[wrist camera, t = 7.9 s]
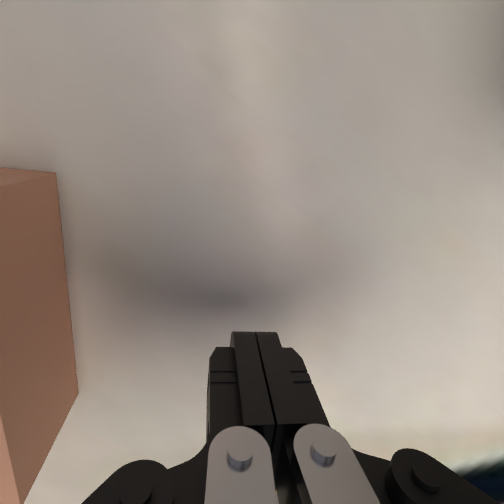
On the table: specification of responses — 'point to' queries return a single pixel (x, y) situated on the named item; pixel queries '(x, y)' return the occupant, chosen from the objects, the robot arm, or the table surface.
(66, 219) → the table surface
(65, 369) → the terracotta block
